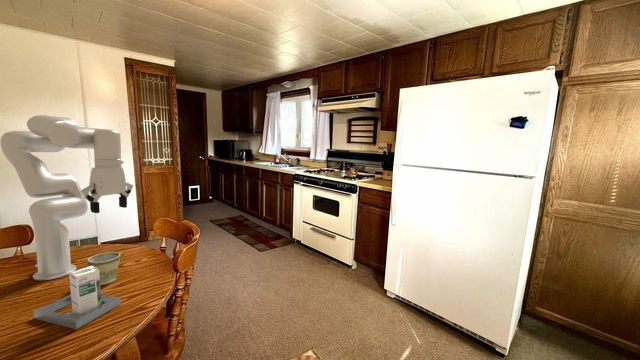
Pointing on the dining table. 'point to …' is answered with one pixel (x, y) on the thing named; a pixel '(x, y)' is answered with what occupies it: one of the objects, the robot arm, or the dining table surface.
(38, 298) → the dining table surface
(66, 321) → the grey rectangular frame
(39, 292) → the dining table surface
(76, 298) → the syrup box
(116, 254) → the ceramic cup
